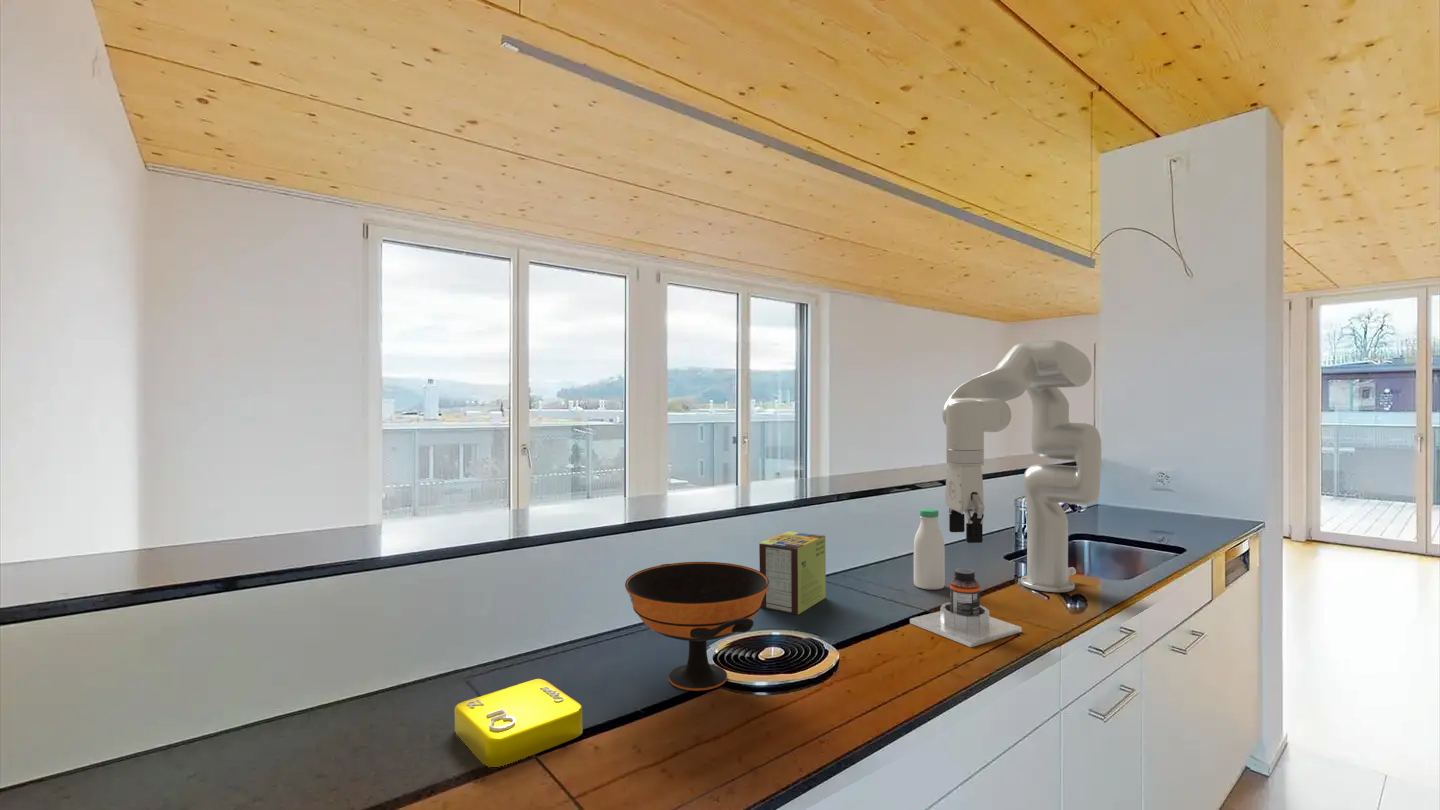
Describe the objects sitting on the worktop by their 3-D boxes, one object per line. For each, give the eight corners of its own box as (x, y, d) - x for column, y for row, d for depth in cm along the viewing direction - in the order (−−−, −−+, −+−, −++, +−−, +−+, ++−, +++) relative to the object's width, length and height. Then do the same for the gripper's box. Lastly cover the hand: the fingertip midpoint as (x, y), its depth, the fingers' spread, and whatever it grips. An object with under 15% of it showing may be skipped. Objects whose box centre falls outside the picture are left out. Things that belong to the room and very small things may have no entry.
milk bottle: (948, 590, 169) (948, 512, 169) (918, 590, 169) (918, 512, 169) (939, 581, 177) (939, 506, 176) (910, 581, 177) (910, 507, 177)
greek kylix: (812, 708, 107) (812, 599, 107) (661, 742, 97) (660, 622, 97) (722, 633, 140) (722, 550, 140) (603, 653, 130) (602, 563, 130)
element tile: (587, 736, 100) (587, 704, 100) (490, 774, 90) (490, 739, 90) (541, 701, 111) (541, 673, 111) (450, 732, 101) (450, 701, 101)
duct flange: (959, 610, 154) (959, 593, 154) (1021, 631, 140) (1021, 613, 140) (909, 623, 146) (909, 605, 146) (970, 647, 132) (970, 627, 132)
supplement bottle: (954, 616, 147) (954, 565, 147) (982, 621, 144) (983, 569, 143) (946, 623, 142) (946, 571, 142) (975, 629, 139) (975, 575, 139)
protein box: (826, 597, 164) (826, 535, 164) (798, 615, 151) (797, 547, 151) (788, 590, 170) (788, 530, 169) (758, 607, 157) (758, 542, 157)
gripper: (934, 453, 151) (934, 528, 151) (962, 462, 133) (963, 547, 134) (966, 453, 151) (967, 528, 151) (1000, 462, 133) (1000, 546, 134)
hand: (965, 537), depth 143 cm, fingers open, 9 cm apart
